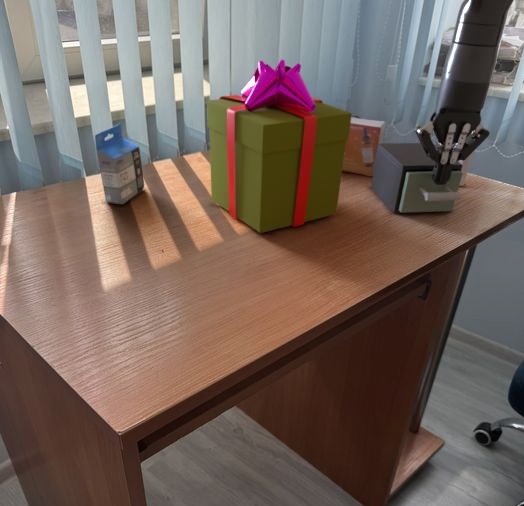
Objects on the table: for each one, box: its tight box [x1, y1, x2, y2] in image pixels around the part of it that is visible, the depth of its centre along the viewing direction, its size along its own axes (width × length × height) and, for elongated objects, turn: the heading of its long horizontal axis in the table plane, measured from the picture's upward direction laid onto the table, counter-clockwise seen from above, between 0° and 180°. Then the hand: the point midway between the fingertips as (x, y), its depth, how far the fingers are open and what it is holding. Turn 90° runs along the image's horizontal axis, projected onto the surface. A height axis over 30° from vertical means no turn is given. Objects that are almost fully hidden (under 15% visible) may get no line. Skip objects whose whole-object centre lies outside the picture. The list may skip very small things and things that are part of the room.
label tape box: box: [94, 123, 146, 205], centre depth 98 cm, size 9×4×12 cm, turn 162°
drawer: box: [399, 170, 463, 214], centre depth 99 cm, size 17×10×7 cm, turn 9°
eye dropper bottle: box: [458, 134, 474, 187], centre depth 111 cm, size 4×6×12 cm
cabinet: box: [370, 142, 463, 215], centre depth 103 cm, size 14×12×9 cm
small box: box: [342, 117, 386, 177], centre depth 115 cm, size 8×6×10 cm
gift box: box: [206, 59, 353, 234], centre depth 91 cm, size 21×21×25 cm
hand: (439, 183), depth 93 cm, fingers closed
